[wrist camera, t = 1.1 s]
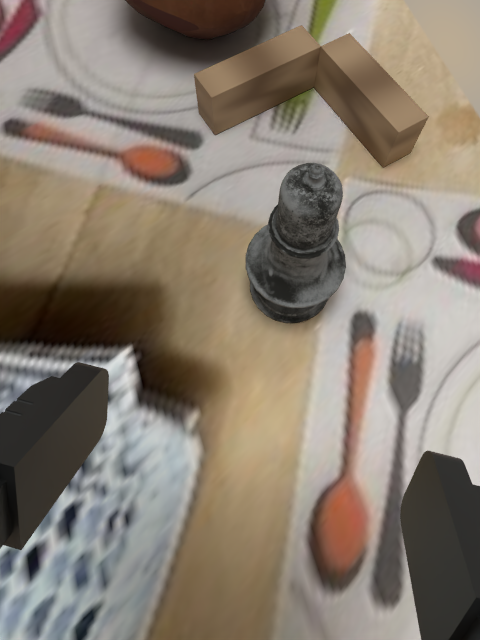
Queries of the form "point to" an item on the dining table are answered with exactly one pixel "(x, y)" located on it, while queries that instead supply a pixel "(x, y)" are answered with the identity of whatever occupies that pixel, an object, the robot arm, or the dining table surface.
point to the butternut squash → (200, 15)
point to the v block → (326, 77)
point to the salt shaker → (298, 247)
